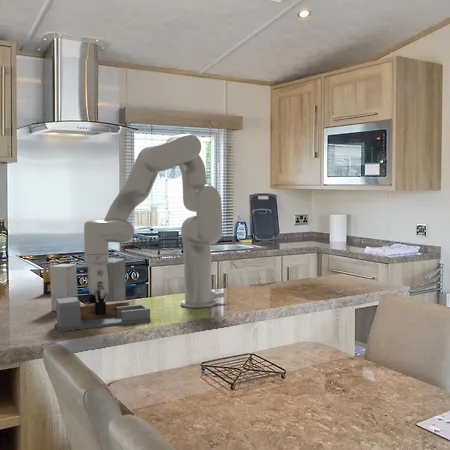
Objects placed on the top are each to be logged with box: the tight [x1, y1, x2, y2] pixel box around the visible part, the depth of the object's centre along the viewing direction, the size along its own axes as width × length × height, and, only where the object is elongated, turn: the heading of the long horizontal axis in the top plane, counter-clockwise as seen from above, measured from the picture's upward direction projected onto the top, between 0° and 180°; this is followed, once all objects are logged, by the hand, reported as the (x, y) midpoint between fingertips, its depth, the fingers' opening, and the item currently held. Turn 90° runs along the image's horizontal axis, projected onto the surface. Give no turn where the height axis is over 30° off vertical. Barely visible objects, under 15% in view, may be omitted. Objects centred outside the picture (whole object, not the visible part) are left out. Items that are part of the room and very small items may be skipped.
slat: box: [80, 299, 130, 320], centre depth 181 cm, size 19×4×5 cm, turn 113°
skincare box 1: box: [50, 263, 79, 312], centre depth 195 cm, size 8×7×16 cm
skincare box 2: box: [104, 257, 126, 302], centre depth 206 cm, size 8×7×16 cm
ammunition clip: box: [42, 262, 69, 296], centre depth 225 cm, size 11×2×12 cm, turn 111°
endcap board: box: [54, 297, 152, 333], centre depth 174 cm, size 28×9×8 cm, turn 114°
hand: (97, 311), depth 181 cm, fingers open, 9 cm apart
